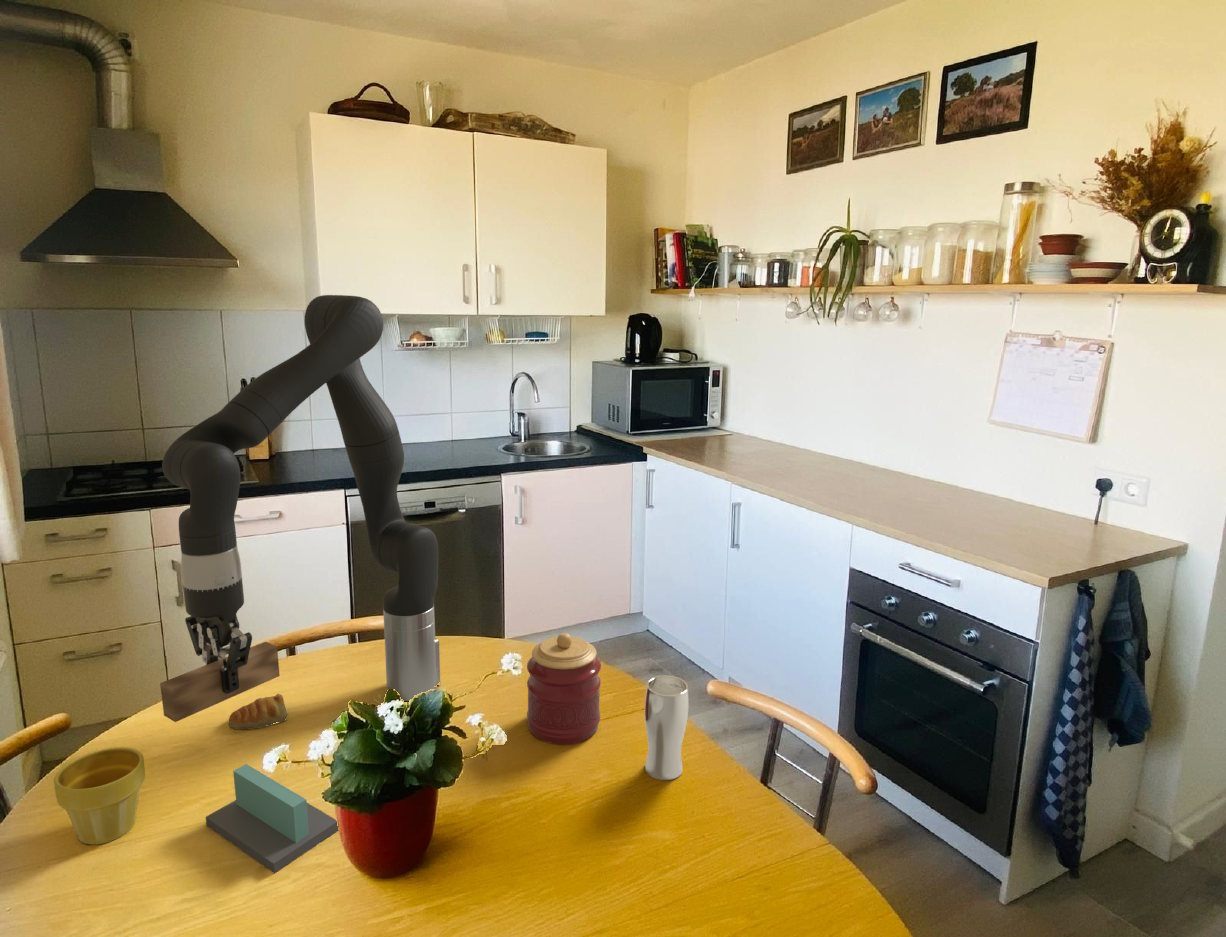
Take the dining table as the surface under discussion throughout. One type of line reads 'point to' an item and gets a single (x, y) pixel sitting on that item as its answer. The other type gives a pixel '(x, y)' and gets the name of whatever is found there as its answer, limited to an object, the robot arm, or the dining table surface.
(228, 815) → the ridge stand
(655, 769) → the beer glass
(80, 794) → the plant pot
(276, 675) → the walnut beam
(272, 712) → the pastry
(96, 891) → the dining table surface
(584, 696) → the canister
